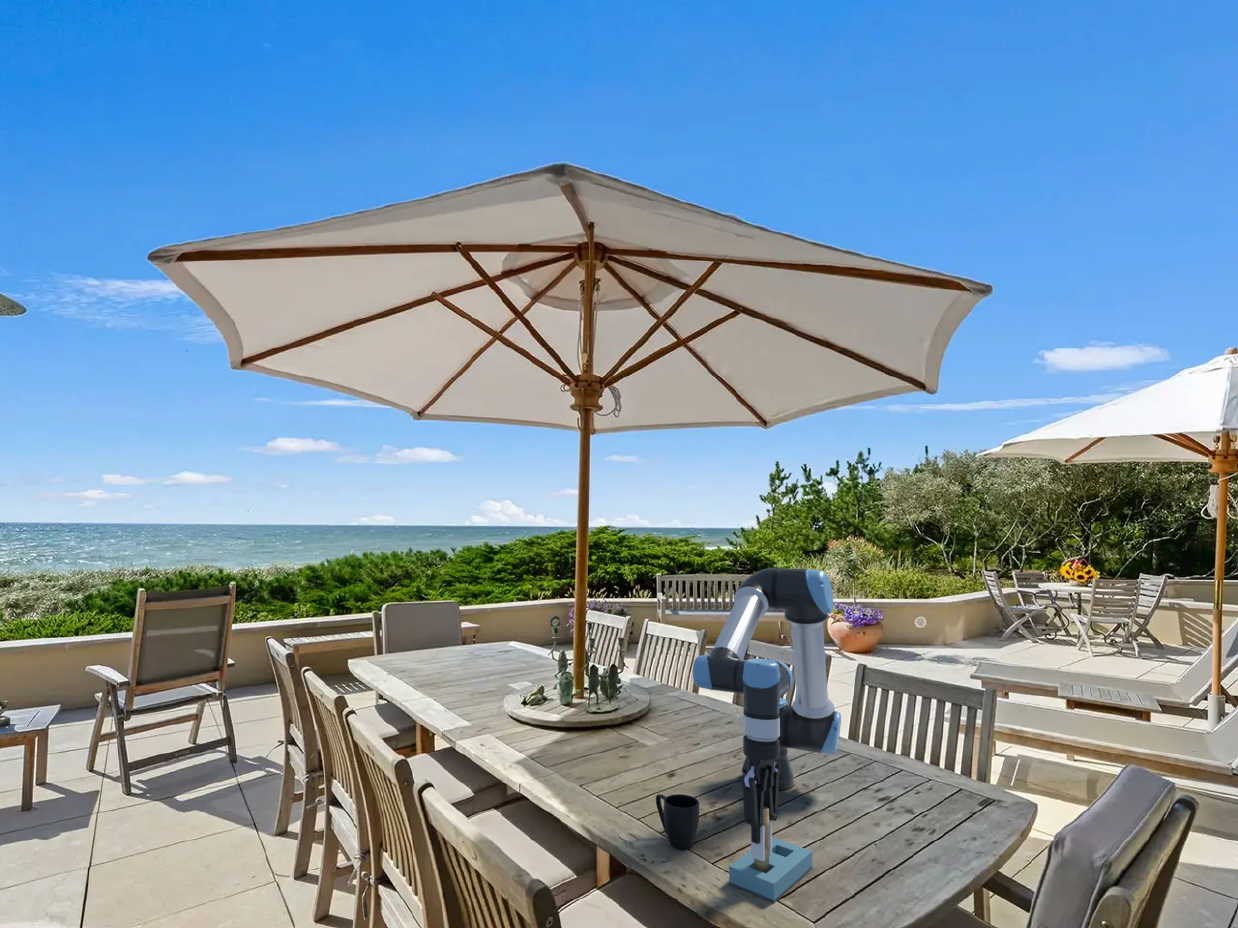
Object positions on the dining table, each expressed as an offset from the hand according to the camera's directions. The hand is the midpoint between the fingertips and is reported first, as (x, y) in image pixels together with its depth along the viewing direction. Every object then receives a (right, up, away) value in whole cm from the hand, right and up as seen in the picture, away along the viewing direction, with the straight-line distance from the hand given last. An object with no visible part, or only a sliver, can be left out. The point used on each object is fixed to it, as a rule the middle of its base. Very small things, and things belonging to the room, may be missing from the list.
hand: (761, 855), depth 131 cm
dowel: (0, -5, -1) cm, 5 cm away
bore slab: (+3, -6, +3) cm, 7 cm away
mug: (-16, -8, +17) cm, 25 cm away
